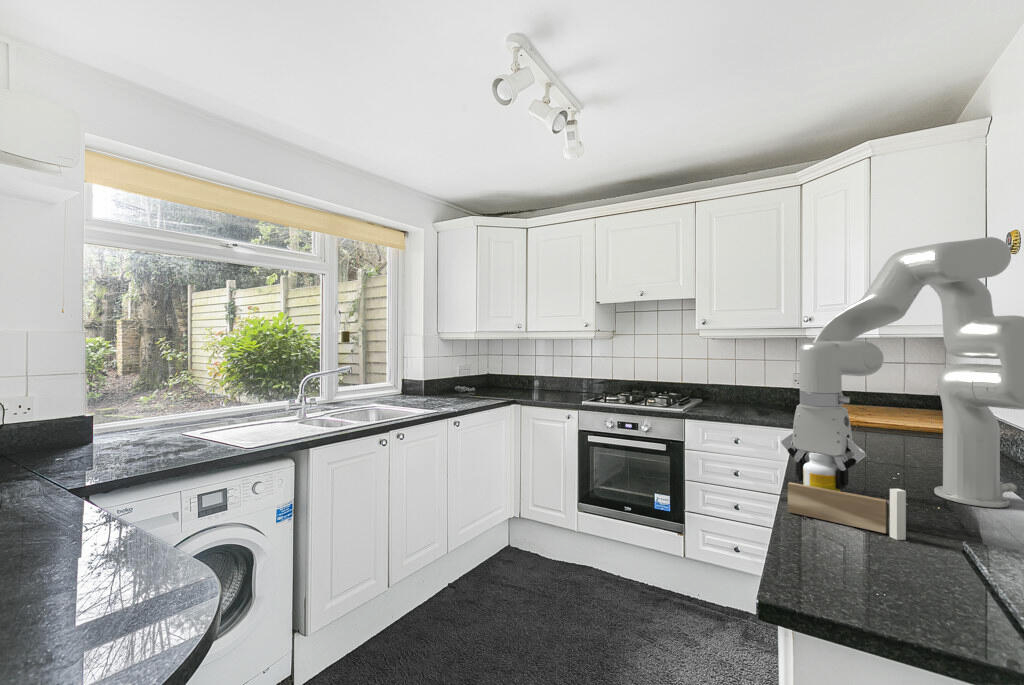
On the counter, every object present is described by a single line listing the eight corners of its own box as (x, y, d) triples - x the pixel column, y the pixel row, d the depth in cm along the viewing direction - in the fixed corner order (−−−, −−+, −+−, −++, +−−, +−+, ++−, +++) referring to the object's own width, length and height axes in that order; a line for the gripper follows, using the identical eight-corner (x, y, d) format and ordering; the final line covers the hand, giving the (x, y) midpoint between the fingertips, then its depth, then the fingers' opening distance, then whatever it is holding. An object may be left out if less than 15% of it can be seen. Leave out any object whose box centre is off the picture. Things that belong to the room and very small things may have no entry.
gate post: (898, 536, 89) (898, 488, 89) (905, 539, 88) (905, 491, 88) (889, 536, 89) (889, 488, 89) (896, 539, 87) (896, 491, 87)
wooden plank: (789, 510, 102) (789, 481, 102) (893, 533, 90) (893, 500, 90) (787, 512, 101) (787, 483, 101) (893, 535, 89) (893, 502, 89)
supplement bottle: (848, 518, 98) (847, 455, 97) (816, 518, 98) (815, 456, 98) (827, 506, 104) (826, 448, 104) (797, 506, 104) (796, 448, 104)
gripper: (876, 402, 96) (877, 490, 96) (786, 395, 110) (787, 471, 110) (861, 406, 92) (862, 498, 92) (770, 398, 106) (771, 477, 106)
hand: (821, 483), depth 101 cm, fingers closed on supplement bottle, 6 cm apart
